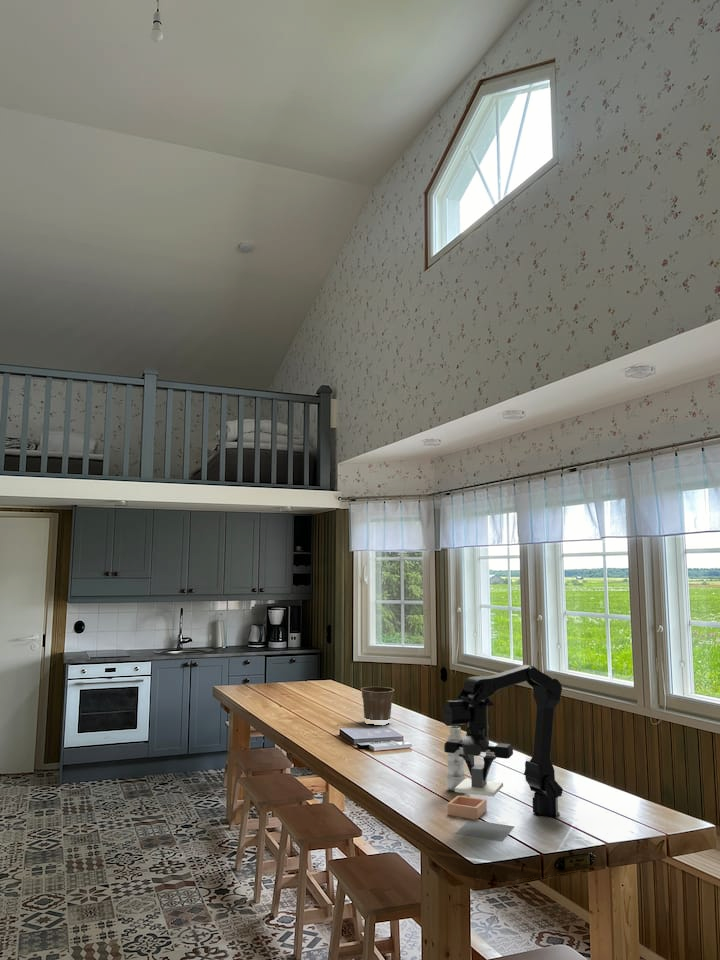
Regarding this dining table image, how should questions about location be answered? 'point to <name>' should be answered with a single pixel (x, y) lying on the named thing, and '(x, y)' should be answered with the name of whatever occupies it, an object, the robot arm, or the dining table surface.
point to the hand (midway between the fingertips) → (479, 779)
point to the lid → (478, 783)
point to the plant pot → (377, 702)
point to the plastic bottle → (454, 762)
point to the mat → (485, 830)
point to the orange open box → (467, 807)
